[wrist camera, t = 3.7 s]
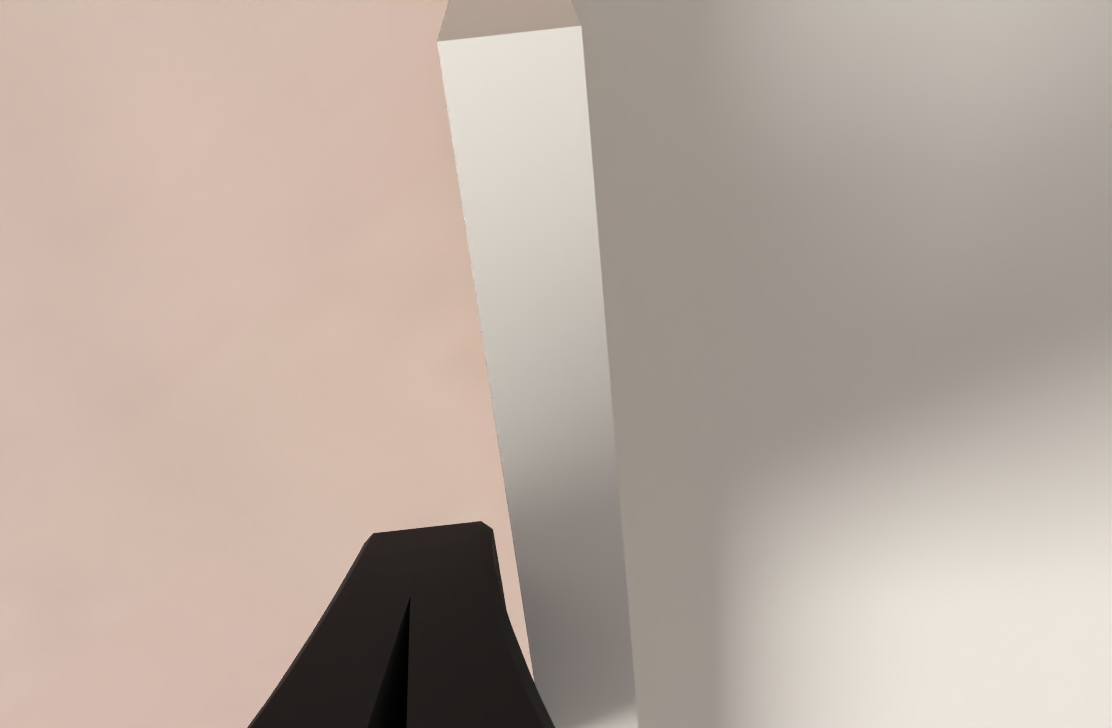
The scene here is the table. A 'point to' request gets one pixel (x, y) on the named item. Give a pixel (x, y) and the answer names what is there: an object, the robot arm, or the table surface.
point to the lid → (798, 353)
